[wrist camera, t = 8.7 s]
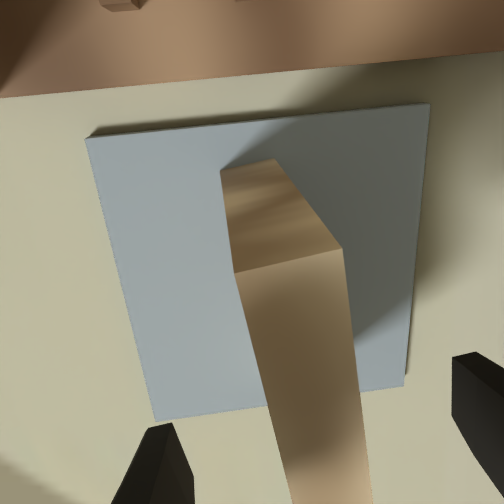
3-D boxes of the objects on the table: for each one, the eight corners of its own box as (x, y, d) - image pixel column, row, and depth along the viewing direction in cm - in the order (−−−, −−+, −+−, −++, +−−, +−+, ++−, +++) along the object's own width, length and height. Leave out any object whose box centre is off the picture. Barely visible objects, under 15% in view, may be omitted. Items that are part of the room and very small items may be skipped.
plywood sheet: (274, 157, 15) (342, 248, 7) (312, 370, 19) (380, 560, 12) (219, 170, 15) (234, 273, 7) (270, 380, 19) (311, 577, 12)
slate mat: (423, 102, 15) (430, 103, 14) (399, 379, 20) (403, 386, 20) (88, 136, 14) (84, 139, 14) (156, 413, 20) (155, 421, 19)
